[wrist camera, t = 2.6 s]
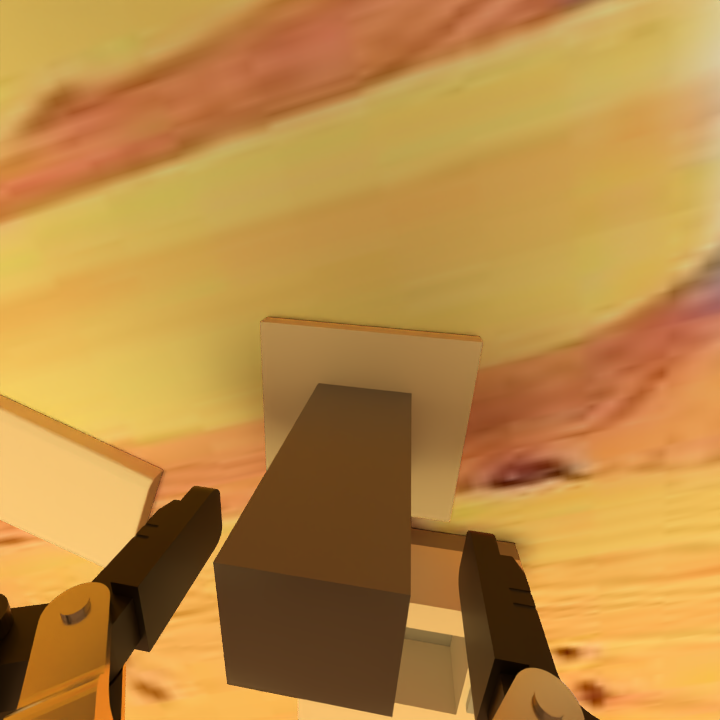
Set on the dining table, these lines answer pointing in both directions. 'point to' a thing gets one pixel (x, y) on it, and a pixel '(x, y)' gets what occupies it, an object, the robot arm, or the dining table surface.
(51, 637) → the robot arm
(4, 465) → the external hard drive
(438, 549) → the socket block
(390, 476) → the plug
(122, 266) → the dining table surface
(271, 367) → the mat
